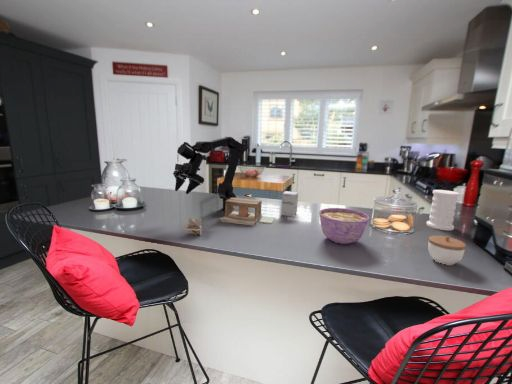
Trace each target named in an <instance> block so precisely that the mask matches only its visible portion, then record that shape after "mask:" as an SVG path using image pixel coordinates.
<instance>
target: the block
mask: <svg viewBox="0 0 512 384" xmlns="http://www.w3.org/2000/svg"><path fill="white" fill-rule="evenodd" d="M238 211H239V216H240V217H248V213H249V207H240V206H238Z"/></svg>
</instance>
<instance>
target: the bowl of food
mask: <svg viewBox="0 0 512 384" xmlns="http://www.w3.org/2000/svg"><path fill="white" fill-rule="evenodd" d="M318 215H319V220H320V227H321V231H322V233H323V235H324V236H325V237H326V238H328V239H329V240H331V241H332V242H333V241H334V243H336V244H339V243H340V245H349V244H351V243H355V242H357V241H359V240H360V239H361V238H362V237H363V235H364V232H365V230H366V228H367V226H368V222H369V220H370V217H369V215H368V214H366V213H365V212H363V211H359V210H355V209H350V208H342V207H341V208H340V207H328V208H323V209H321V210H319V211H318Z"/></svg>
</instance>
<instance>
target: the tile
mask: <svg viewBox="0 0 512 384" xmlns="http://www.w3.org/2000/svg"><path fill="white" fill-rule="evenodd" d="M274 219H276V217H272V216H265V215H264V216H262V217H261V218H260V219H259V220H258V223H261V224H267V225H268V224H269V225H272V224H273V222H274V221H275V220H274Z"/></svg>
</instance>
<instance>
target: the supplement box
mask: <svg viewBox="0 0 512 384" xmlns="http://www.w3.org/2000/svg"><path fill="white" fill-rule="evenodd" d="M281 197H282V198H281V213H280V215H281V216H287V217H292V216H294V217H295V216H296V215H297V214H296V213H297V211H298V199H299V192H297V191H290V190H289V191H288V190H285V191H284V192H282V196H281ZM295 214H296V215H295Z"/></svg>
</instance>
